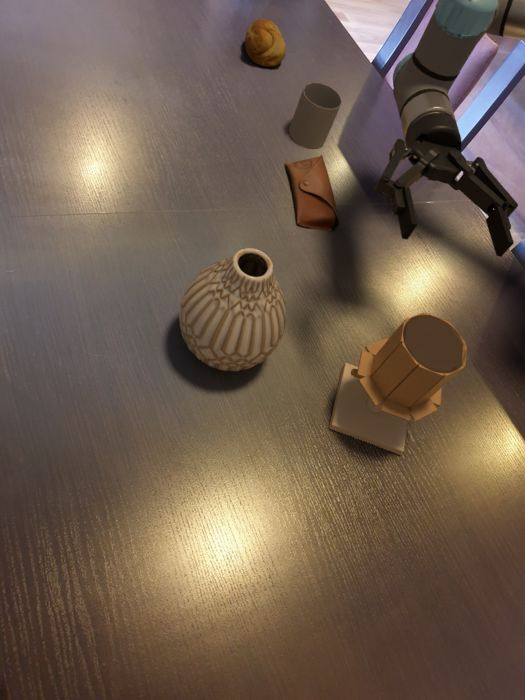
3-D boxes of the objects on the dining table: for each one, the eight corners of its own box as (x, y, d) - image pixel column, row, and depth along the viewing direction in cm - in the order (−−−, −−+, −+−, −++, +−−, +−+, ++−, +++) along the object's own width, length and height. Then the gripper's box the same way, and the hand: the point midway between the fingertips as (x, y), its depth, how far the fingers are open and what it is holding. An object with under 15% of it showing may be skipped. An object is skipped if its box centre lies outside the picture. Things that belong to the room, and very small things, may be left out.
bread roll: (241, 34, 138) (248, 1, 131) (279, 43, 140) (288, 10, 134) (243, 66, 131) (251, 32, 125) (283, 74, 134) (293, 42, 127)
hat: (443, 359, 87) (481, 323, 79) (436, 432, 79) (477, 401, 71) (365, 328, 86) (395, 289, 78) (351, 400, 78) (382, 365, 70)
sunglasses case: (282, 160, 117) (306, 140, 113) (303, 176, 121) (328, 157, 118) (297, 226, 108) (323, 206, 104) (319, 241, 113) (346, 222, 109)
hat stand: (411, 393, 95) (479, 329, 79) (403, 456, 88) (476, 401, 72) (338, 365, 94) (391, 294, 78) (324, 426, 87) (379, 363, 71)
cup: (307, 119, 127) (322, 78, 119) (332, 142, 125) (349, 102, 117) (281, 129, 123) (295, 88, 115) (306, 153, 121) (322, 113, 113)
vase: (203, 401, 84) (232, 329, 68) (155, 319, 90) (171, 233, 73) (288, 364, 92) (333, 291, 75) (240, 290, 97) (271, 207, 81)
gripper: (490, 169, 89) (524, 274, 78) (341, 136, 83) (355, 244, 72) (520, 129, 83) (562, 237, 72) (361, 91, 77) (380, 201, 66)
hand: (458, 241), depth 72 cm, fingers open, 13 cm apart
